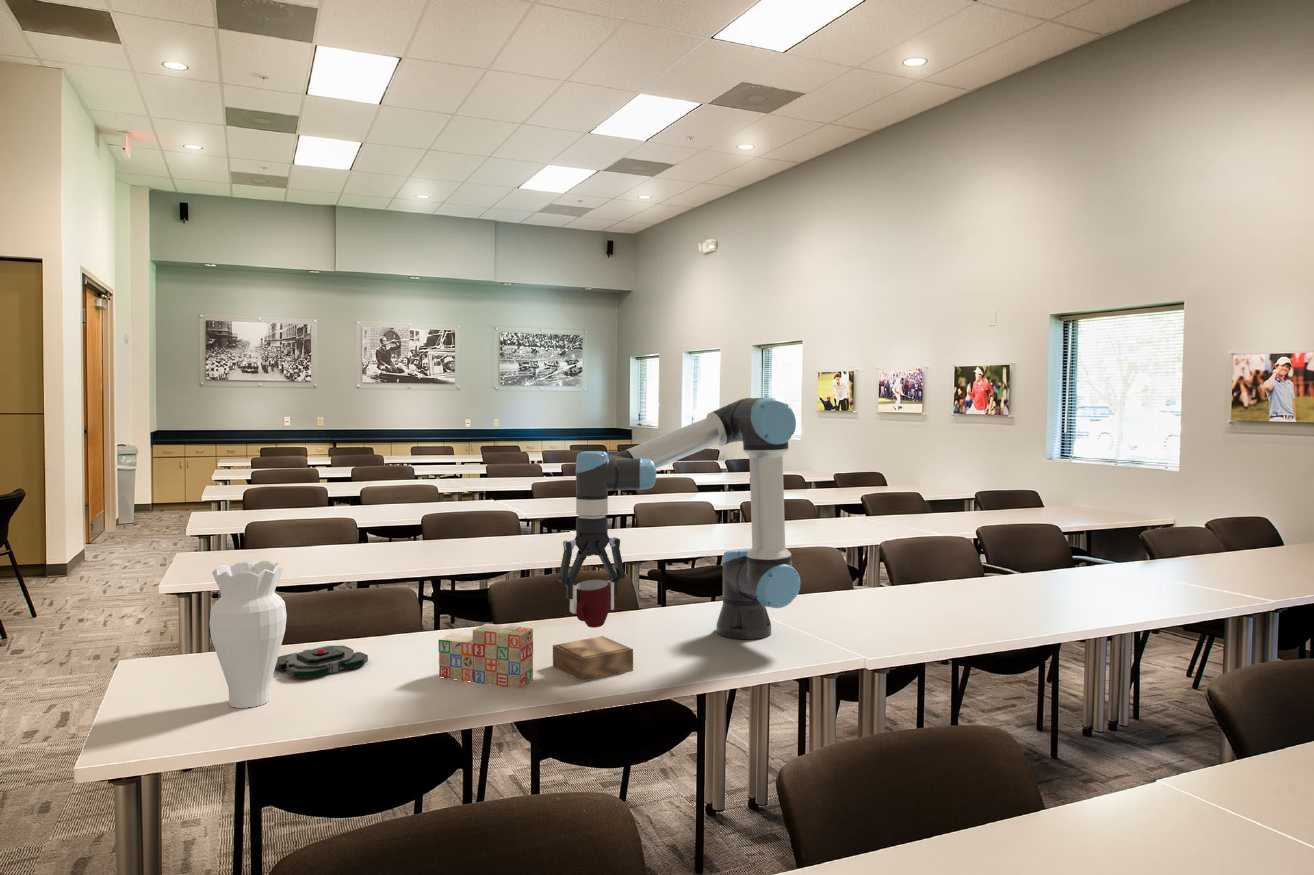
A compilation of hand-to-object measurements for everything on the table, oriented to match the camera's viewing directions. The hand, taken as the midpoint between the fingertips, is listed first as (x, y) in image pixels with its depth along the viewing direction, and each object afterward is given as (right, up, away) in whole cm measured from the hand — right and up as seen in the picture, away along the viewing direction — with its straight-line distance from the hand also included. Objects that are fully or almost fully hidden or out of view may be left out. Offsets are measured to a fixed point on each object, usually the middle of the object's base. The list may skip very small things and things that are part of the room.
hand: (592, 610), depth 201 cm
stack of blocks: (-24, -15, -8) cm, 29 cm away
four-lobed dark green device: (-66, -15, +2) cm, 67 cm away
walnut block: (0, -14, +1) cm, 14 cm away
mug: (0, -4, 0) cm, 4 cm away
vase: (-71, -15, -22) cm, 76 cm away
